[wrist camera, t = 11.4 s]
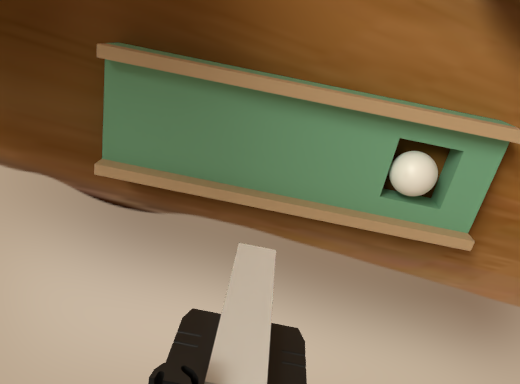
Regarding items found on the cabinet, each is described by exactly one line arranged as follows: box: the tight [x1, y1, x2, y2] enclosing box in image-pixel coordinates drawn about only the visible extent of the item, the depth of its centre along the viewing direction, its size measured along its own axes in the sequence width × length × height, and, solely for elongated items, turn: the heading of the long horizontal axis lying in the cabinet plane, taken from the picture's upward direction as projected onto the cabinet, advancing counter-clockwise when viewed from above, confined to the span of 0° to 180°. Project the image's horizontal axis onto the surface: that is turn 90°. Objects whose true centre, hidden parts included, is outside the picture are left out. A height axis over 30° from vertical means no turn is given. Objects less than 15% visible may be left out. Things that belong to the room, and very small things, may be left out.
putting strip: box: [94, 42, 520, 251], centre depth 34 cm, size 11×34×4 cm, turn 79°
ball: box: [389, 151, 438, 196], centre depth 34 cm, size 4×4×4 cm
